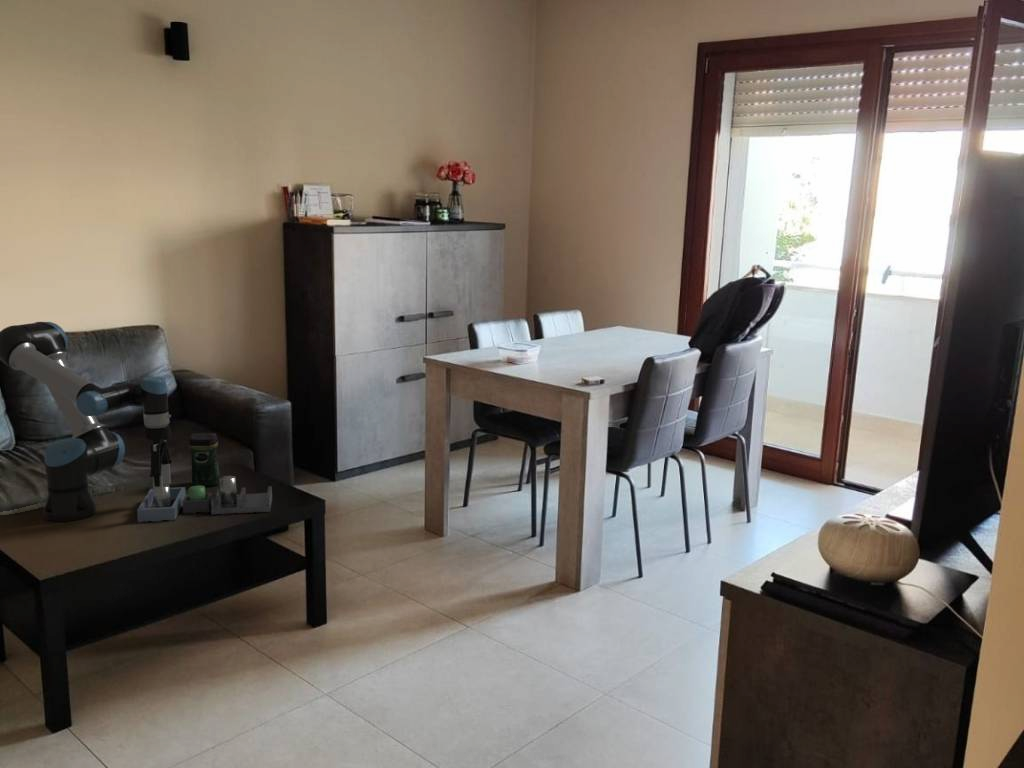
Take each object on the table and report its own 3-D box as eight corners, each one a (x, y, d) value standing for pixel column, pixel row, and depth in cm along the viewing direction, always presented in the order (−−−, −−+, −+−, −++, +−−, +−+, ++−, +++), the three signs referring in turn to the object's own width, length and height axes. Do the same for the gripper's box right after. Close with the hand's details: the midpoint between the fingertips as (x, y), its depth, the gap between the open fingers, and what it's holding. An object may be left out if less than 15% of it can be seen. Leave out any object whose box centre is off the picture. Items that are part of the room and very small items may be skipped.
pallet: (211, 515, 282) (210, 501, 281) (216, 501, 295) (215, 488, 294) (269, 511, 285) (269, 498, 284) (272, 498, 299) (271, 485, 298)
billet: (153, 512, 283) (151, 489, 282) (156, 508, 288) (154, 484, 286) (169, 512, 284) (168, 488, 283) (172, 507, 289) (170, 483, 288)
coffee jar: (222, 480, 318) (220, 430, 315) (216, 487, 311) (214, 436, 307) (195, 481, 318) (192, 430, 314) (188, 487, 310) (185, 436, 306)
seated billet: (220, 504, 286) (218, 480, 285) (221, 499, 291) (220, 476, 289) (236, 503, 287) (234, 479, 286) (237, 498, 292) (236, 475, 290)
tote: (137, 522, 274) (137, 510, 274) (151, 500, 296) (150, 488, 295) (175, 520, 277) (174, 507, 276) (185, 498, 298) (185, 487, 297)
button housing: (183, 513, 283) (182, 501, 282) (186, 505, 290) (186, 494, 290) (209, 512, 284) (208, 500, 284) (212, 504, 292) (211, 492, 291)
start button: (188, 508, 284) (187, 490, 283) (190, 503, 289) (189, 485, 288) (204, 507, 285) (203, 489, 284) (206, 502, 290) (205, 485, 289)
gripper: (162, 433, 270) (168, 500, 273) (176, 416, 294) (181, 478, 297) (136, 435, 268) (142, 502, 272) (152, 417, 292) (157, 479, 296)
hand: (162, 489), depth 285 cm, fingers open, 13 cm apart
